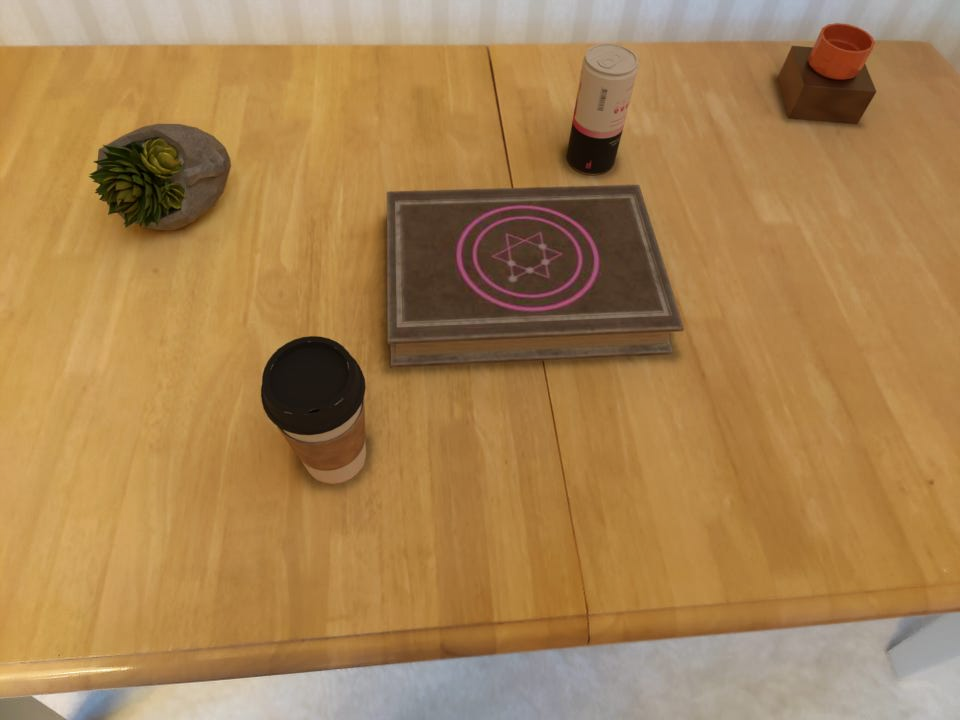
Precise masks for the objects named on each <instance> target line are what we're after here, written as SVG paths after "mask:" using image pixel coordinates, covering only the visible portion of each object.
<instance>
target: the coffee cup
mask: <svg viewBox="0 0 960 720" xmlns="http://www.w3.org/2000/svg"><path fill="white" fill-rule="evenodd" d="M260 386H261V387H260V398H261V404H262V408H263V410H264V412H265V415H266V417H267V418H268V419H269V420H270V421H271V423H273V425H275V426H276V428H277V429H278V430H279V432H280V433H281V435H282V436H283V438H284V439H285V440H286V442H287V443H288V444H289V446H290V447H291V449H292V450H293V452H294V453H295V454H296V456H297V457H298V459H299V460H300V461H301V463H302V464H303V466H304V468H305V469H306V471H307V472H308V473H309V474H310V475H311V477H312V478H314V479H315V480H316V481H319V482H321V483H324V484H333V485H334V484H341V483H345V482H347V481H349V480H350V479H352V478H354V477H355V476H357V474H359V472H360V471H361V469H362V468H363V466H364V464H365V461H366V459H367V458H366V457H367V447H366V446H367V445H366V411H365V394H366V379H365V375H364V373H363V370H362V368H361V366H360V364H359V363H358V361H357V360H356V359H355V358H354V357H353V355H352V354H351V353H350V352H349V350H347V348H346V347H344V345H342V344H341V343H340V342H338V341H336V340H334V339H332V338H329V337H325V336H319V335H308V336H302V337H299V338H295V339H293V340H291V341H288V342H286V343H284V345H282V346H280V347H279V348H278V349H276V350H275V352H273V353H272V355H271V356H270V357H269V359H268V360H267V362H266V364H265V366H264V369H263V373H262V377H261V385H260Z"/></svg>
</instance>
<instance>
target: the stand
mask: <svg viewBox="0 0 960 720" xmlns="http://www.w3.org/2000/svg"><path fill="white" fill-rule="evenodd" d="M812 48H813V46H801V45H791V46H790V49H789V52H788V54H787V56H786V58H785V60H784V63H783V66H782V67H781V70H780V71H779V74H778V76H777V82H778V86H779V90H780V94H781V97H782V101H783V104H784V109H785V111H786V115H787V119H789V120H800V121H810V122H822V123H823V122H824V123H835V124H846V125H847V124H848V125H858V124H859V122H860V120H861V119H862V118H863V116H864V114H865V112H866V111H867V109H868V107H869V105H870V104H871V102H872V100H873V99H874V97H875V96H876V93H877V90H876V87H875V85H874V82H873V79H872V76H871V75H870V72H869V69H868V68H867V65H866V63H865V64H864V66H863V67H862V69H861V71H860V73H859V74H858V75H857V76H855V77H854V78H850V79H844V80H835V79H830V78H826V77H824V76H822V75H820V74H818V73H817V72H816V71H814V69H813V68H812V67H811V66H810V65H809V62H808V57H809V55H810V53H811V50H812Z"/></svg>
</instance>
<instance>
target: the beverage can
mask: <svg viewBox="0 0 960 720" xmlns="http://www.w3.org/2000/svg"><path fill="white" fill-rule="evenodd" d="M638 72H639V57H638V55H637V53H636V52H634V51H633V50H632V49H630V48H629V47H627V46H626V45H625V46H624V45H622V44H619V43H613V42H603V43H597V44H594V45H592V46H590V47H589V48H588V49H587V50H586V52H585V55H584V56H583V59H582V64H581V69H580V75H579V82H578V87H577V93H576V97H575V105H574V110H573V115H572V121H571V126H570V133H569V138H568V144H567V150H566V161H567V163H568V164H569V166H570V167H572V168H573V169H574V170H575V171H577V172H579V173H582V174H585V175H593V176H594V175H602V174H604V173H607V172H608V171H610V170H611V169H612V168H614V165H615V162H616V159H617V154H618V151H619V146H620V142H621V138H622V134H623V130H624V127H625V123H626V119H627V115H628V110H629V107H630V103H631V98H632V96H633V91H634V88H635V87H634V86H635V82H636V79H637V76H638Z"/></svg>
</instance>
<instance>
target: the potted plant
mask: <svg viewBox="0 0 960 720" xmlns="http://www.w3.org/2000/svg"><path fill="white" fill-rule="evenodd" d="M92 163H95V164H96V170H94V171H93V172H91V173H89V176H88V178H90V179H92V182H93V183H96V184H98V185H99V186H97V188H96V189H95V191H94V194H97V196H100V198H99V199H98V201H101V202H104V203H106V204H107V206H108V213H107V216H109V215H113V214H117V215H118V216H120V217H121V219H123V220H124V222H123V225H124V228H125V229H126V228H128V227H130V226H131V225H134V224H136V225H139V228H141V227H142V226H143V227H144V229H146V230H147V228H149V229H152V230H160V231H161V230H162V231H177V230H179V229H182V228H184V227H186V226H188V225H191V224H193V223H194V222H195V221H196V220H198V219H199V218H200V217H202V216H203V215H205V214H206V213H207V212H208V211H209V210H211V209H213V208H214V207H215V206H216V204H217V203H218V201H219V200H220V198H221V196H222V195H223V193H224V191H225V188H226V186H227V182H228V178H229V174H230V171H231V168H232V162H231V157H230V155H229V152H228V151H227V148H226V146H225V145H224V144H223V143H222V142H221V141H219V140H218V139H217V138H216V136H214V135H213V134H210V133H208V132H206V131H205V130H203V129H200V128H199V127H195V126H191V125H186V124H181V123H153V124H150V125H144V126H142V127H139V128H137V129H134V130H132V131H130V132H127V133H125V134H124V135H121V136H119V137H118V138H116V139H114V140H113V141H111V142H109V143H107V144H102V147H100V148H99V149H98V151H97V160H93V161H92Z"/></svg>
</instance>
